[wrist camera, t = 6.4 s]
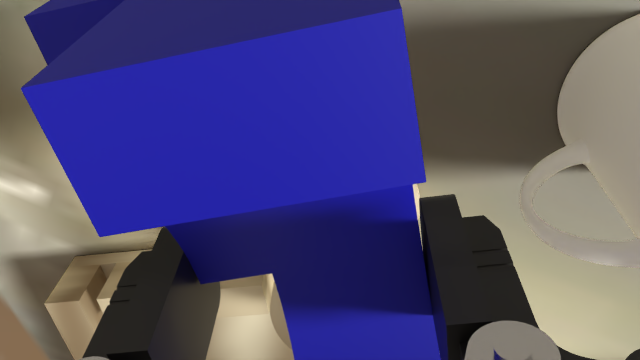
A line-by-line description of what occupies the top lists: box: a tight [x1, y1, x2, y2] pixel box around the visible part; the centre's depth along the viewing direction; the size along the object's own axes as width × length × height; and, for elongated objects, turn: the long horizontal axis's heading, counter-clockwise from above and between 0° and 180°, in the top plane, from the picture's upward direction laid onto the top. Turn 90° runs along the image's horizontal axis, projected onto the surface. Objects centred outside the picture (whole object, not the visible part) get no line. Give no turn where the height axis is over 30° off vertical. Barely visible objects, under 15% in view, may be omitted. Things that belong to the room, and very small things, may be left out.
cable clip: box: [21, 0, 441, 360], centre depth 10 cm, size 12×4×6 cm, turn 12°
